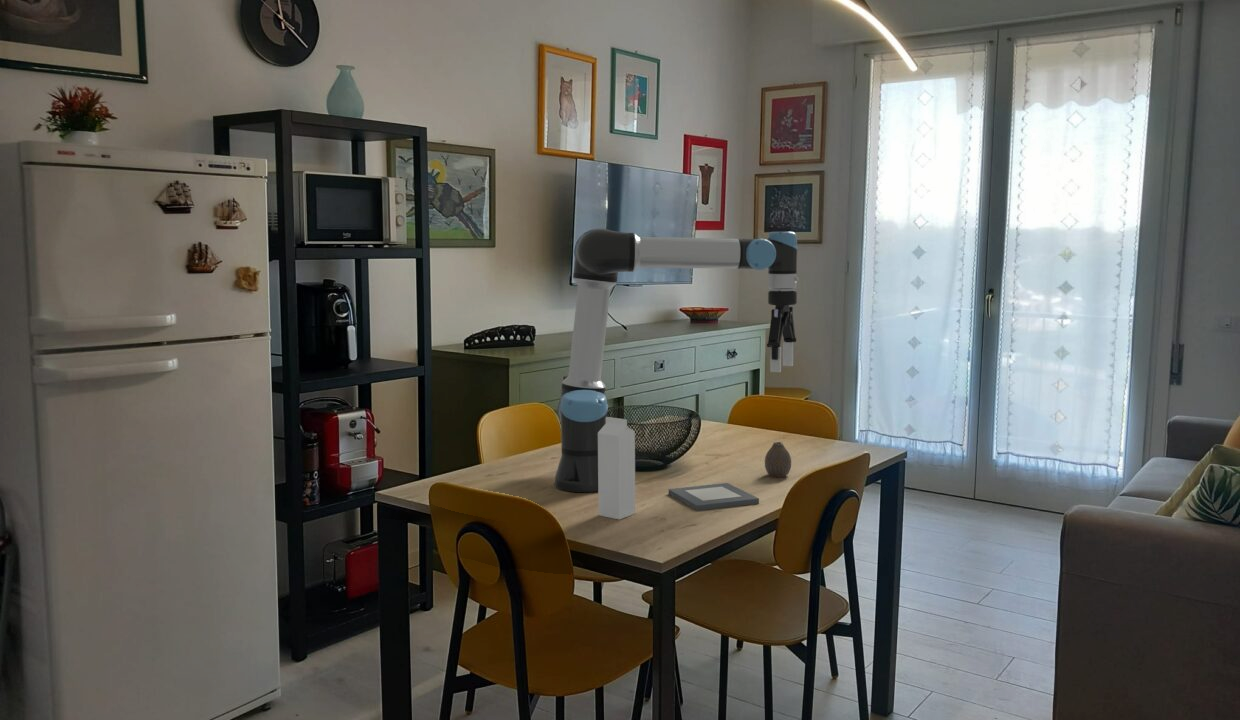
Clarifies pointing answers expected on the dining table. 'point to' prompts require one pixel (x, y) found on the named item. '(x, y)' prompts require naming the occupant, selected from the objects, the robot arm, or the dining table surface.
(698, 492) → the rest mat
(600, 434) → the milk
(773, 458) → the vase
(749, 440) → the dining table surface
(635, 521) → the dining table surface
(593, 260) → the robot arm
